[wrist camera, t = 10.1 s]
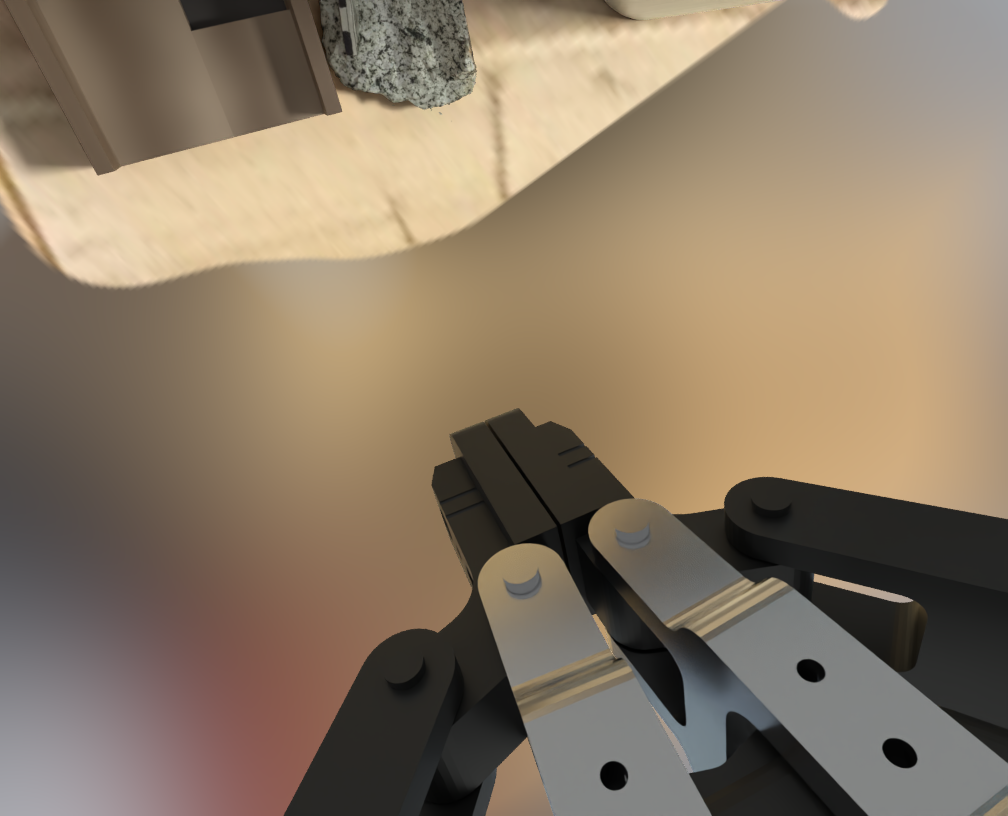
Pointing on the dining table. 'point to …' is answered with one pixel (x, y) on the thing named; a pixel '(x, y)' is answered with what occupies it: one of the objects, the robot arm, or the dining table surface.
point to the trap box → (175, 70)
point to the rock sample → (400, 48)
